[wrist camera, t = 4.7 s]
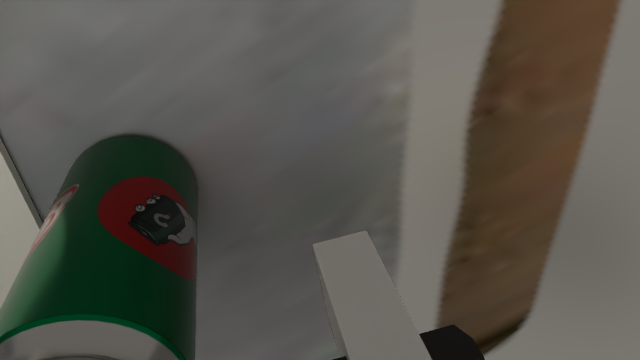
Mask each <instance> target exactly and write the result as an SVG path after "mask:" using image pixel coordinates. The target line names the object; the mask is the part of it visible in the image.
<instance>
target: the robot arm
mask: <svg viewBox="0 0 640 360" xmlns="http://www.w3.org/2000/svg"><path fill="white" fill-rule="evenodd" d="M312 246H313V250H314V255H315V259H316V264H317V268H318V273H319V278H320V282H321V287H322V291H323V296H324V300H325V305H326V310H327V314H328V319H329V322H330V326H331V329H332V332H333V335H334V339H335V342H336V345H337V348H338V352H339V355H340V358H337V359H333V360H485V359H484V356H483V355H482V353H481V351H480V350H479V348H478V347H477V345H476V343H475V342H474V340H473V339H472V338H471V337H470V336H469V335H467V334H466V333H464V332H463V331H462V330H460V329H459V328H458V327H456V326H455V325H450V326H446V327H443V328H439V329H436V330H432V331H429V332H425V333H421V334H419V333H418V331H417V329H416V327H415V325H414V323H413V321H412V319H411V317H410V316H409V313H408V312H407V309H406V308H405V306H404V304H403V302H402V300H401V298H400V296H399V294H398V292H397V290H396V288H395V286H394V284H393V282H392V280H391V278H390V276H389V274H388V272H387V270H386V268H385V266H384V264H383V262H382V260H381V258H380V256H379V254H378V252H377V250H376V248H375V246H374V244H373V243H372V241H371V239H370V237H369V235H368V233H367V231H366V230H365V231H361V232H358V233H354V234H350V235H346V236H342V237H338V238H334V239H331V240H327V241H323V242H319V243H315V244H312Z"/></svg>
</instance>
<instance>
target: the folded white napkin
mask: <svg viewBox="0 0 640 360" xmlns="http://www.w3.org/2000/svg"><path fill="white" fill-rule="evenodd" d="M42 225H43V223H42V221H41V219H40V217H39V214H38V212H37V210H36V208H35V206H34V204H33V202H32V200H31V198H30V196H29V194H28V192H27V190H26V188H25V186H24V184H23V182H22V180H21V178H20V176H19V174H18V172H17V170H16V168H15V166H14V164H13V162H12V160H11V158H10V156H9V154H8V152H7V150H6V148H5V146H4V144H3V142H2V140H1V138H0V309H1V307H2V305H3V303H4V301H5V299H6V297H7V295H8V293H9V291H10V289H11V287H12V285H13V283H14V281H15V279H16V277H17V275H18V273H19V271H20V269H21V267H22V265H23V263H24V261H25V259H26V257H27V255H28V253H29V251H30V249H31V247H32V245H33V243H34V241H35V239H36V237H37V235H38V233H39V231H40V229H41V227H42Z"/></svg>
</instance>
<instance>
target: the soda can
mask: <svg viewBox="0 0 640 360" xmlns="http://www.w3.org/2000/svg"><path fill="white" fill-rule="evenodd" d="M197 216H198V191H197V184H196V180H195V177H194V175H193V173H192V171H191V169H190V168H189V166H188V165H187V163H186V162H185V161H184V160H183V159H182V158H181V156H179V155H178V154H177V153H176V152H174V151H173V150H172V149H170V148H169V147H167V146H165V145H163V144H161V143H159V142H156V141H154V140H150V139H146V138H141V137H133V136H130V137H117V138H111V139H108V140H105V141H101V142H99V143H97V144H95V145H93V146H91V147H90V148H89V149H87V150H86V151H84V152H83V153H82V154H81V155H80V156H79V157H78V158H77V159H76V161H75V162H74V164H73V165H72V167H71V169H70V171H69V173H68V175H67V177H66V179H65V181H64V183H63V185H62V187H61V189H60V191H59V193H58V195H57V197H56V199H55V201H54V203H53V205H52V207H51V209H50V211H49V213H48V215H47V217H46V219H45V221H44V223H43V225H42V227H41V229H40V231H39V233H38V235H37V237H36V239H35V241H34V243H33V245H32V247H31V249H30V251H29V253H28V255H27V257H26V259H25V261H24V263H23V265H22V267H21V269H20V271H19V273H18V275H17V277H16V279H15V281H14V283H13V285H12V287H11V289H10V291H9V293H8V295H7V297H6V299H5V301H4V303H3V305H2V307H1V309H0V360H195V338H196V277H197Z"/></svg>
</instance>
